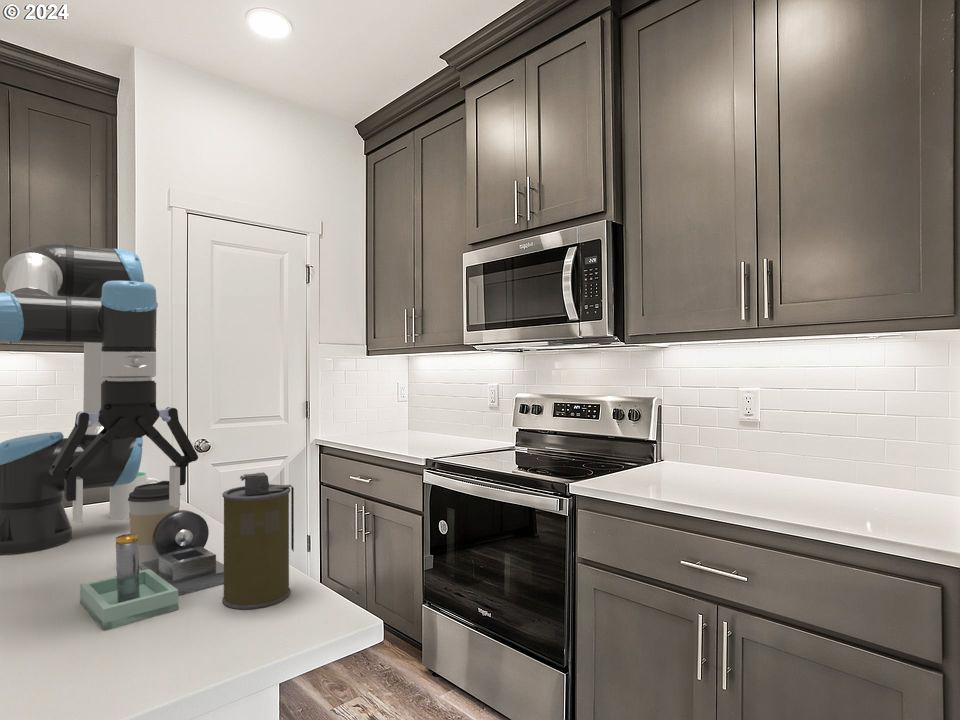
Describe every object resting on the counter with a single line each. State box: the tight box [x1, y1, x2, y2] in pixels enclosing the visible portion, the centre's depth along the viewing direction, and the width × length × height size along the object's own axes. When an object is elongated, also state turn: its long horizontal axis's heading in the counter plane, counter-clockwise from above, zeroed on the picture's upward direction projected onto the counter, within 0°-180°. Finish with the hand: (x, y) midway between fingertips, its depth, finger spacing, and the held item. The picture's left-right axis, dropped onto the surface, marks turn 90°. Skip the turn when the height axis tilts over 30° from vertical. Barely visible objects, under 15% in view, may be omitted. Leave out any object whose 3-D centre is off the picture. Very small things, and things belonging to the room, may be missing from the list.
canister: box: [221, 472, 295, 610], centre depth 96 cm, size 11×10×20 cm
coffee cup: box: [128, 480, 182, 568], centre depth 114 cm, size 9×9×15 cm
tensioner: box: [140, 509, 224, 596], centre depth 105 cm, size 16×10×11 cm, turn 46°
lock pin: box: [115, 533, 140, 603], centre depth 92 cm, size 3×3×10 cm
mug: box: [109, 471, 161, 521], centre depth 151 cm, size 12×8×10 cm, turn 135°
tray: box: [79, 569, 179, 631], centre depth 92 cm, size 14×10×3 cm
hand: (128, 513), depth 93 cm, fingers open, 13 cm apart
